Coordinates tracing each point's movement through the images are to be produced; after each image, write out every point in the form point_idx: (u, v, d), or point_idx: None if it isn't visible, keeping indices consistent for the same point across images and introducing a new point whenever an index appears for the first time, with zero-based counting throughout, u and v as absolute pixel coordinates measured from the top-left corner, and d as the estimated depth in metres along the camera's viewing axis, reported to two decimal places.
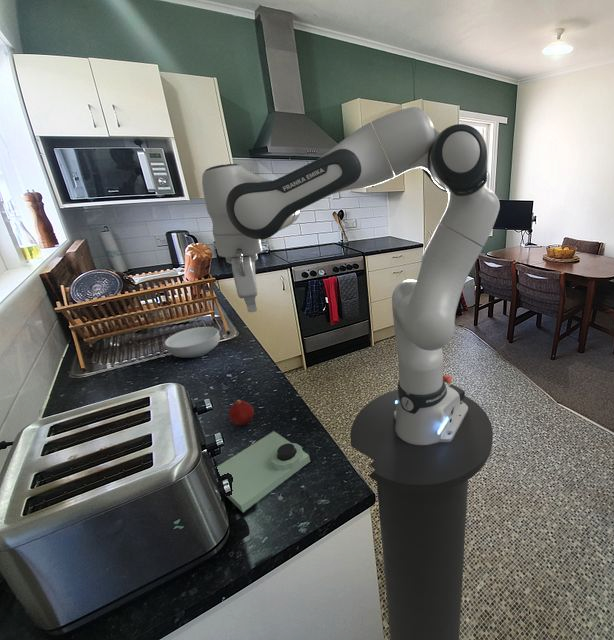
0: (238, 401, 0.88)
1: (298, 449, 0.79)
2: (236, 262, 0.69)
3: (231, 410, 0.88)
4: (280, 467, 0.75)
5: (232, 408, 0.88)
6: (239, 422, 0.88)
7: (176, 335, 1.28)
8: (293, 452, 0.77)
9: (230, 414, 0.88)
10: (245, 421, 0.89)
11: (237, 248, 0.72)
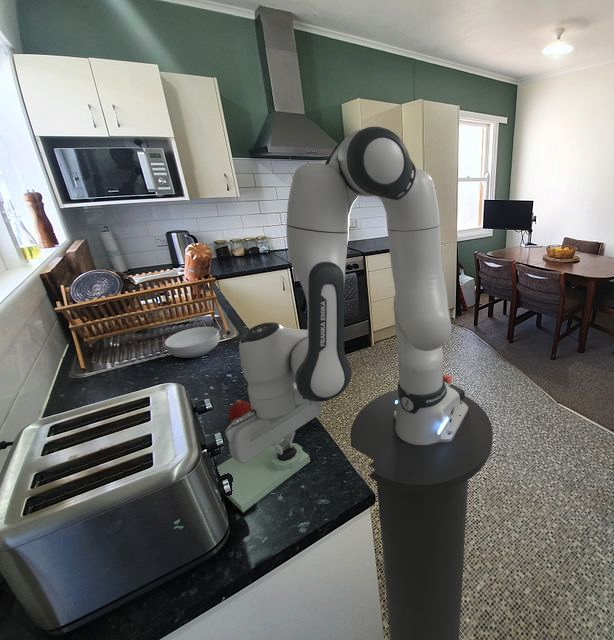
0: (238, 401, 0.88)
1: (298, 449, 0.79)
2: None
3: (231, 410, 0.88)
4: (280, 467, 0.75)
5: (232, 408, 0.88)
6: None
7: (176, 335, 1.28)
8: (293, 453, 0.77)
9: (230, 414, 0.88)
10: None
11: (253, 408, 0.68)
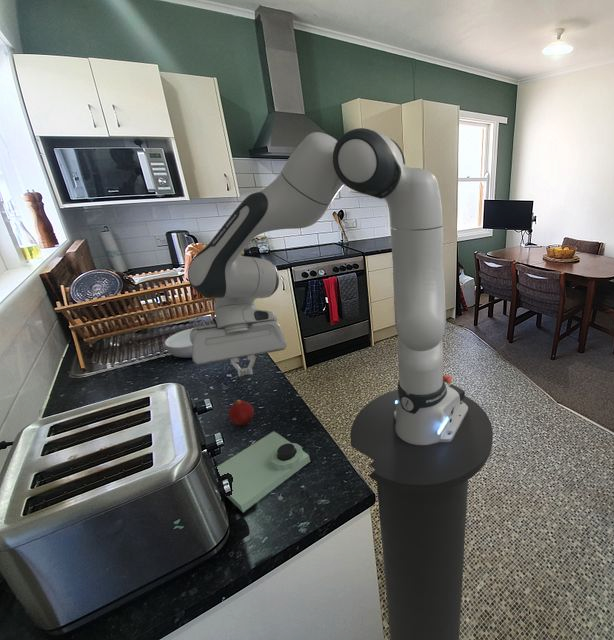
0: (238, 401, 0.88)
1: (298, 449, 0.79)
2: None
3: (231, 410, 0.88)
4: (280, 467, 0.75)
5: (232, 408, 0.88)
6: (239, 422, 0.88)
7: (176, 335, 1.28)
8: (293, 452, 0.77)
9: (230, 414, 0.88)
10: (245, 421, 0.89)
11: None
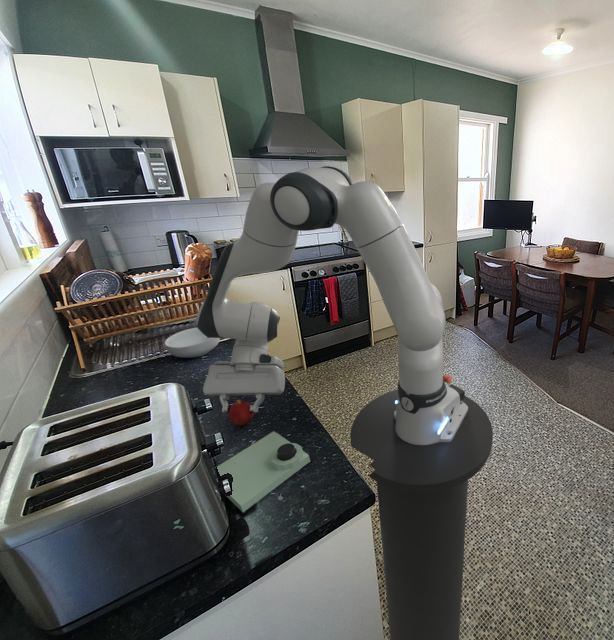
0: (238, 401, 0.88)
1: (298, 449, 0.79)
2: None
3: (231, 410, 0.88)
4: (280, 467, 0.75)
5: (232, 408, 0.88)
6: (239, 422, 0.88)
7: (176, 335, 1.28)
8: (293, 452, 0.77)
9: (230, 414, 0.88)
10: (245, 421, 0.89)
11: None
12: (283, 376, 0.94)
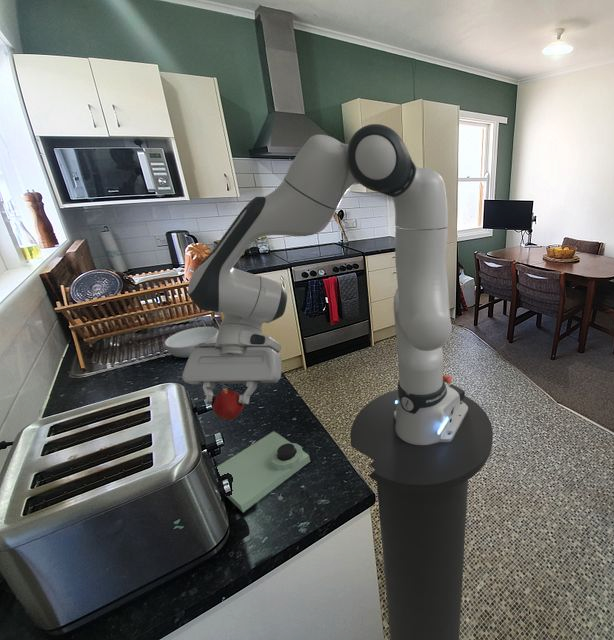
0: (224, 390, 0.73)
1: (298, 449, 0.79)
2: None
3: (216, 401, 0.72)
4: (280, 467, 0.75)
5: (217, 399, 0.72)
6: (226, 416, 0.72)
7: (176, 335, 1.28)
8: (293, 452, 0.77)
9: (215, 406, 0.72)
10: (233, 414, 0.73)
11: None
12: (279, 361, 0.78)
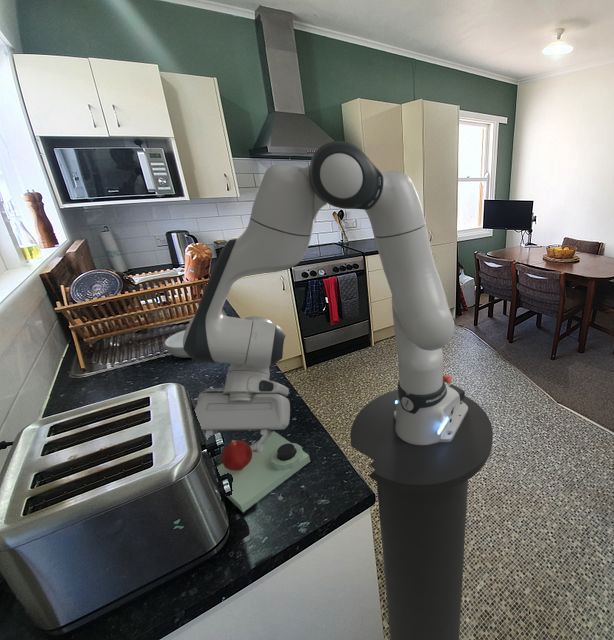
0: (233, 442, 0.72)
1: (298, 449, 0.79)
2: None
3: (224, 453, 0.72)
4: (280, 467, 0.75)
5: (226, 451, 0.72)
6: (234, 468, 0.72)
7: (176, 335, 1.28)
8: (293, 452, 0.77)
9: (223, 458, 0.72)
10: (241, 466, 0.73)
11: None
12: (288, 406, 0.78)
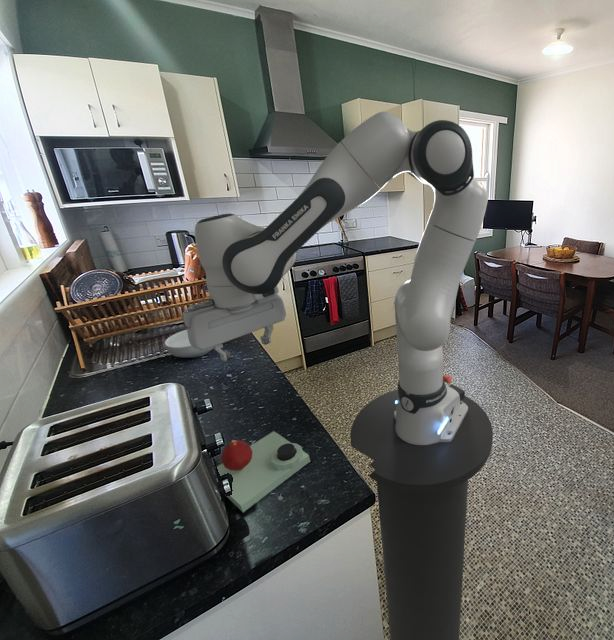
0: (233, 442, 0.72)
1: (298, 449, 0.79)
2: None
3: (224, 453, 0.72)
4: (280, 467, 0.75)
5: (226, 451, 0.72)
6: (234, 468, 0.72)
7: (176, 335, 1.28)
8: (293, 452, 0.77)
9: (223, 458, 0.72)
10: (241, 466, 0.73)
11: (211, 298, 0.70)
12: None
